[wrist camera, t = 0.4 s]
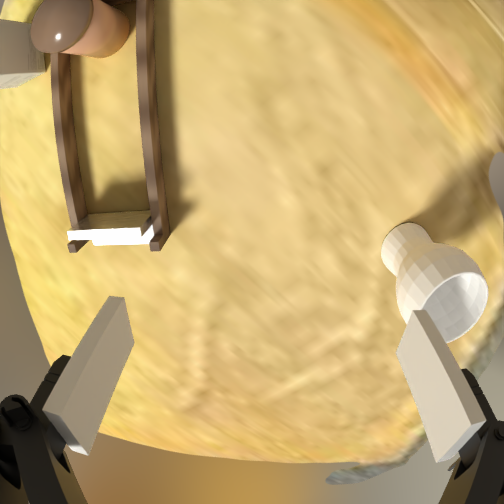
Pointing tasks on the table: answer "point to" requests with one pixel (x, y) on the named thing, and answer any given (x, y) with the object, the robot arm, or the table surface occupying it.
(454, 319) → the cup
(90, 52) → the jar
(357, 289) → the table surface
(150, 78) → the frame
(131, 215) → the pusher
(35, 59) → the skincare box
